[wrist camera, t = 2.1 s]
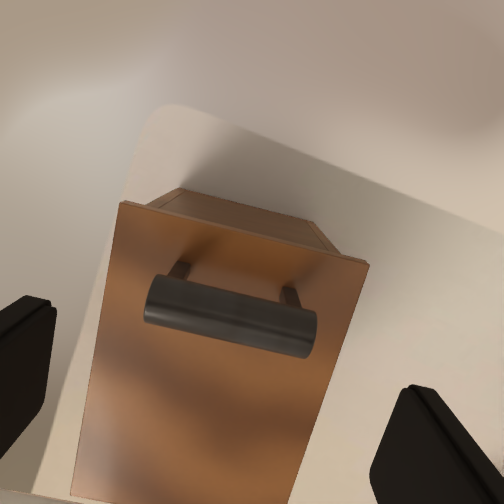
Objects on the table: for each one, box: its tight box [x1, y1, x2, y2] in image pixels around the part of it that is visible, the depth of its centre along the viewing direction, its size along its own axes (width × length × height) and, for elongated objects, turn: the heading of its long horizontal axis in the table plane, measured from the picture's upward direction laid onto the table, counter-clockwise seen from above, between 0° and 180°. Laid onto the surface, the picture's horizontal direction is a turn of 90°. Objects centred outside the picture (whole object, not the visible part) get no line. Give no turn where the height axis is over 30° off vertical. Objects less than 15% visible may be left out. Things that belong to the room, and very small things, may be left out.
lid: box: [70, 200, 370, 504], centre depth 18 cm, size 16×12×6 cm
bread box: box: [146, 188, 341, 254], centre depth 27 cm, size 16×12×14 cm
